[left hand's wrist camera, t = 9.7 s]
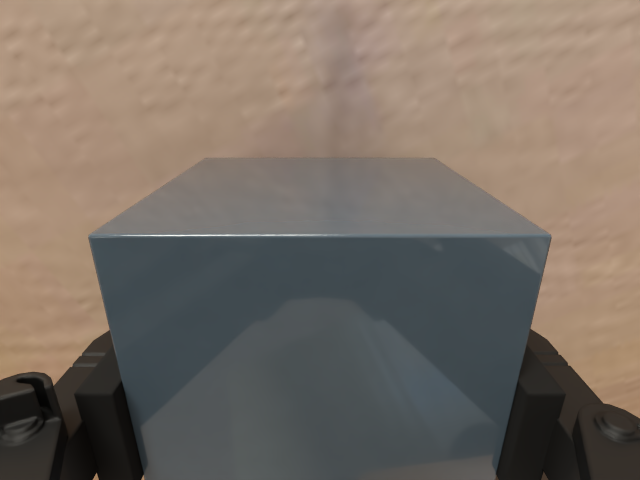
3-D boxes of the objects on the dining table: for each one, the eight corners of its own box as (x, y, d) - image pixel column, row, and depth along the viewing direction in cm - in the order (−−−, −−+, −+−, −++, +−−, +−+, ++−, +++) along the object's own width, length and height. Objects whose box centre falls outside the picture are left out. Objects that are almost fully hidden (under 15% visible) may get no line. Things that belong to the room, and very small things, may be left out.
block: (412, 370, 17) (475, 567, 10) (227, 370, 17) (163, 567, 10) (435, 157, 14) (553, 234, 7) (204, 157, 14) (86, 234, 7)
